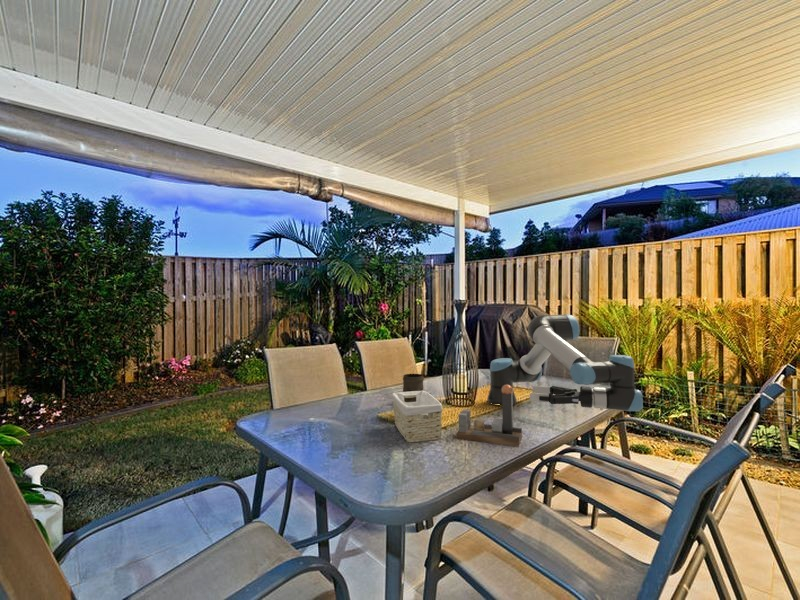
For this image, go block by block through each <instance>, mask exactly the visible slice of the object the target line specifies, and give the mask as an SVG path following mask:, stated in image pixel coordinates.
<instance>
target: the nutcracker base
mask: <svg viewBox="0 0 800 600" xmlns="http://www.w3.org/2000/svg"><path fill="white" fill-rule="evenodd" d="M471 420H472V419H471V409H465V408H463V409H462V410H461V411H460V412H459V413H458V431H457V432H456V434H455V436H456V439H457V440H459V439H460V440H465V441H466V440H467V441H474V442H480V443H487V444H488V443H489V444H496V445H501V444H503V446H509V445H512V446H511V447H516V446H519V447H520V445H521V442H520V441H521V440H522V438H523V429H522V428H521V427H514V426H513V435H510V434H502V433H494V432H492V424H489V423H484V431H478V430H474V424H471Z"/></svg>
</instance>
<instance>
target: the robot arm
mask: <svg viewBox="0 0 800 600" xmlns="http://www.w3.org/2000/svg"><path fill="white" fill-rule="evenodd" d="M527 332H528V336H529V338H530V340H532V342H534V345H533V347H532V348H531V350H530V351H529V352H528V353H527V354H525V355H523V356H521V358H520V359H519V360H513V359H512V358H511V357H509V358H508V357H501V358H496V359H493V360H491V361H490V364H489V365H490V367H489V376H490V377H489V379H490V389H489V391H488V395H487V398H486V399H487V400H486V401H488V402H489V403H492V404H500V405H502V387H503V386H504V385H510V386H511V387H512V388H513V389H514V387H513V385H514V384H515V383H534V382H537V381H539V380H540V379H541V378H542V373H543V367H542V365H543V364H545V362H546V361H547V359H549V357H550V356H551V355H552V356H554V358H555V359H557V360H558V362H560V363H562V364H563V365H564V366H565V367H566V368H567V369H568V370H569V374H570V377H571V378H572V381H573V382H574V383H575V384H578V385H583V386H580V387H579V391H578V388H569V387H562V386H555V385H552V386H542V385H541V386H540V385H539V386H538V385H531V386H532V392H529V401H531V402H542V403H543V402H544V403H550V404H551V405H564V404H565V405H568V404H569V405H570V404H572V405H573V404H575V405H578V404H579V402H580V407H581V408H588V409H589V408H590V409H591V408H592V407H593V408H594V409H599V410H601V411H603V410H604V409H605V410H615V411H616V410H617V411H625V412H641V410H643V406H644V405H643V403H644V400H643V399H644V398H643V394H642V391H641V390H639V389H636V387H635V364H634V363H635V362H634V358H633V357H632V356H630V355H624V354H612V355H611V354H610V356H609V358H608V361H593V360H591V359H590V358H588V357H587V356H586V355H585V354H583V353H582V352H580V351H579V350H578V349H577V348H575V347H574V346H573V345H572V344H570V343H569V342H568V341H575V340H577V339H578V338H579V336H580V325H579V322H578V319H577V318H576V317H575V316H573V315H572V314H542V315H538V316H535V317H533V319H531V321H530V322H529V324H528V326H527ZM595 384H596V385H597V384H599V385H600V384H609V386H610V387H600V386H599V387H598V386H593V387H591V386H590V385H595ZM584 385H585V386H584ZM587 385H589V386H587ZM488 402H487V403H488ZM489 403H488V404H489ZM492 404H491V405H492ZM513 406H517V397H516V394H515V391H514V390H513Z"/></svg>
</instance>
